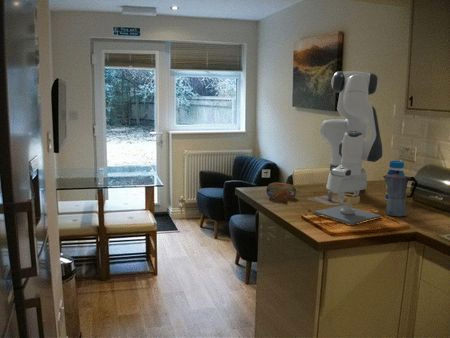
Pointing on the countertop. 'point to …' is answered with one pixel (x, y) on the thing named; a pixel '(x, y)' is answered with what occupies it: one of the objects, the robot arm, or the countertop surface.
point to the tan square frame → (350, 199)
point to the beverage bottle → (394, 171)
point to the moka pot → (398, 193)
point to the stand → (326, 199)
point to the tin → (281, 191)
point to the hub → (347, 214)
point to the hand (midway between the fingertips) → (348, 201)
